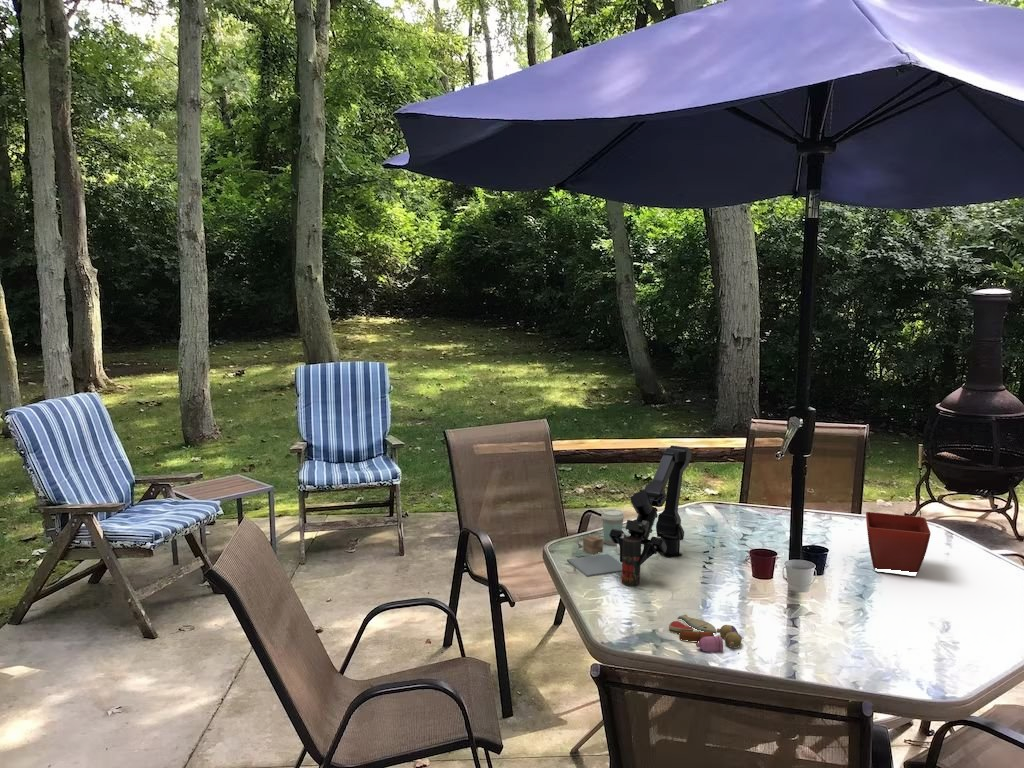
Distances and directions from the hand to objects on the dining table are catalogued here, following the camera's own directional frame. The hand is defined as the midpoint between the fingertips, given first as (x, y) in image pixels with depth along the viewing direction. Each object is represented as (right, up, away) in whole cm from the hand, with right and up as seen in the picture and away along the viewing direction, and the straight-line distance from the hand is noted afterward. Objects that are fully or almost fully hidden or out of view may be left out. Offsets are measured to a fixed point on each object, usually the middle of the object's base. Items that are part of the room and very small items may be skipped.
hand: (629, 563), depth 262 cm
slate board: (-8, -5, +18) cm, 20 cm away
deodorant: (+1, -7, +2) cm, 7 cm away
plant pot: (+94, -6, +17) cm, 95 cm away
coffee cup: (-1, -2, +42) cm, 42 cm away
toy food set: (+16, -13, -38) cm, 43 cm away
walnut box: (-9, -3, +32) cm, 34 cm away
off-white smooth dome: (+3, -3, +32) cm, 32 cm away
